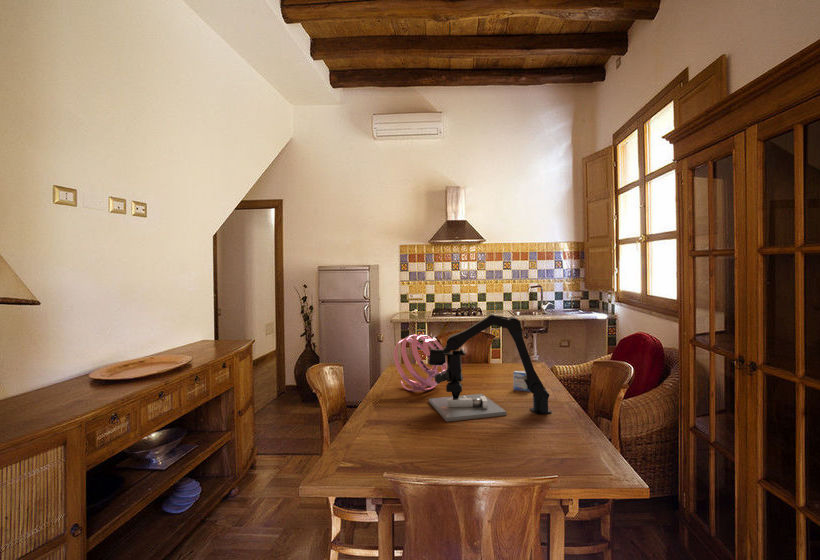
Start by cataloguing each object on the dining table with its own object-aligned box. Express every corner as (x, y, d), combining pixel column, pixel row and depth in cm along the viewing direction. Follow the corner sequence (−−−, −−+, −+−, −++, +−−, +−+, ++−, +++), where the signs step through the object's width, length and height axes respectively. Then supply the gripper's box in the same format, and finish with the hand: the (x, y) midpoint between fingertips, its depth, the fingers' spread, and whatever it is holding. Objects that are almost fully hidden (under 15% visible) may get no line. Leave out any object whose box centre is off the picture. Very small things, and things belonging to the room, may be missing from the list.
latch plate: (506, 415, 169) (506, 411, 169) (446, 421, 164) (446, 417, 164) (481, 396, 194) (481, 393, 194) (428, 402, 188) (428, 398, 188)
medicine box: (513, 390, 204) (512, 372, 203) (515, 387, 208) (515, 370, 207) (530, 391, 200) (529, 373, 200) (532, 389, 204) (531, 371, 204)
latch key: (484, 402, 179) (484, 395, 179) (487, 408, 172) (487, 401, 172) (446, 403, 179) (446, 396, 179) (448, 409, 172) (448, 401, 172)
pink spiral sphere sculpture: (373, 348, 214) (408, 320, 200) (411, 353, 233) (446, 328, 219) (387, 401, 199) (426, 375, 185) (427, 401, 218) (465, 378, 204)
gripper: (437, 359, 188) (438, 394, 189) (433, 371, 169) (434, 409, 170) (462, 360, 186) (463, 395, 187) (461, 371, 168) (462, 410, 169)
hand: (455, 402), depth 178 cm, fingers closed
